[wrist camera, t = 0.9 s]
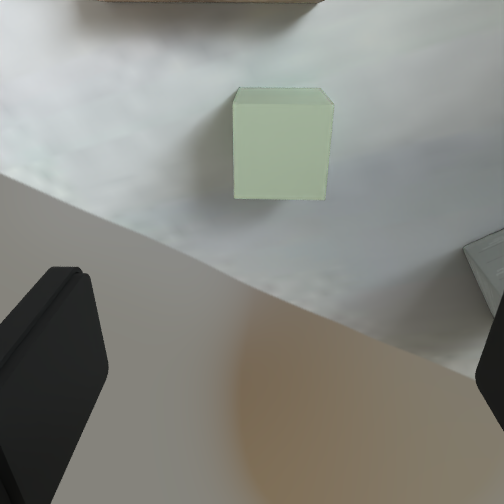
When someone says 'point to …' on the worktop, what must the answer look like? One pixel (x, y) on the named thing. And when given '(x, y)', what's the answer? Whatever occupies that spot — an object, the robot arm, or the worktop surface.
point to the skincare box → (488, 267)
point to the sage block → (281, 143)
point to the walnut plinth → (234, 0)
